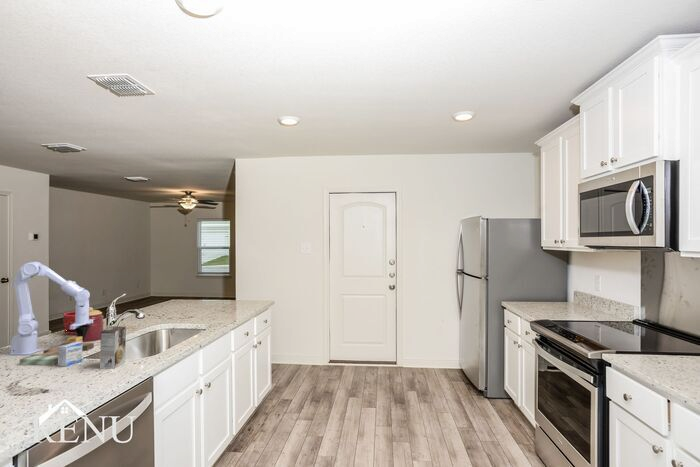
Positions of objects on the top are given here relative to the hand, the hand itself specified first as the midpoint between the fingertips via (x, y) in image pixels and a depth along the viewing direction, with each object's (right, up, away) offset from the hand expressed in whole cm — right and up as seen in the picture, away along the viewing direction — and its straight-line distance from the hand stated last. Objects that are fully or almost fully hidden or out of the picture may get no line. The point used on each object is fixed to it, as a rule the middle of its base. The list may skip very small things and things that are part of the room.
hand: (81, 340), depth 191 cm
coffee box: (+34, -3, -27) cm, 43 cm away
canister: (-6, -4, +15) cm, 17 cm away
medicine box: (+14, -3, -26) cm, 29 cm away
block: (0, -1, -5) cm, 5 cm away
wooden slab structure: (0, -3, -15) cm, 15 cm away
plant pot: (-23, -4, +27) cm, 36 cm away
